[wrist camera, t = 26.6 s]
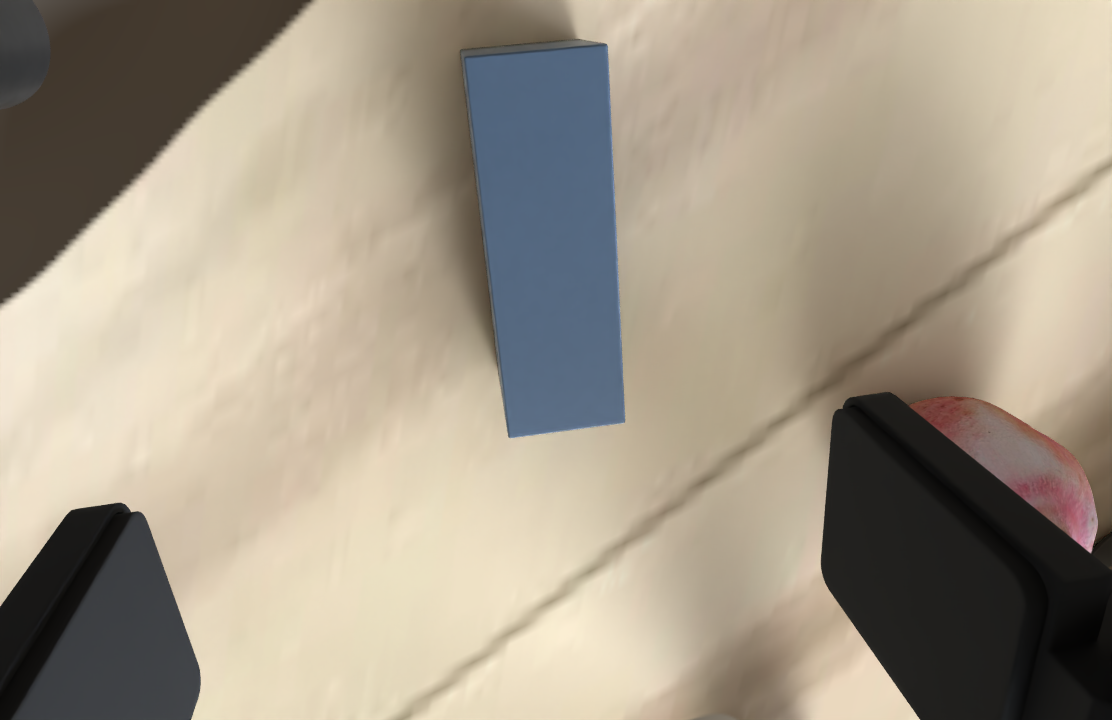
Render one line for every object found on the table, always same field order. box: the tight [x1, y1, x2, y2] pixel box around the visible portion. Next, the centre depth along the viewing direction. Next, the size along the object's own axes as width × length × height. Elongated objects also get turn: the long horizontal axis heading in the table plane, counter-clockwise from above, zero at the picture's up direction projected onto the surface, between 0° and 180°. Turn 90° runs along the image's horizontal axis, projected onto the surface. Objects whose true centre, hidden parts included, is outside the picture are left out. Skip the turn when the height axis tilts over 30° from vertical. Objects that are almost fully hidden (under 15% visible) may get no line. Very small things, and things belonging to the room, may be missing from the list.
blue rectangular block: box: [460, 39, 625, 438], centre depth 26 cm, size 12×4×5 cm, turn 4°
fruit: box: [908, 396, 1098, 553], centre depth 31 cm, size 9×10×10 cm
